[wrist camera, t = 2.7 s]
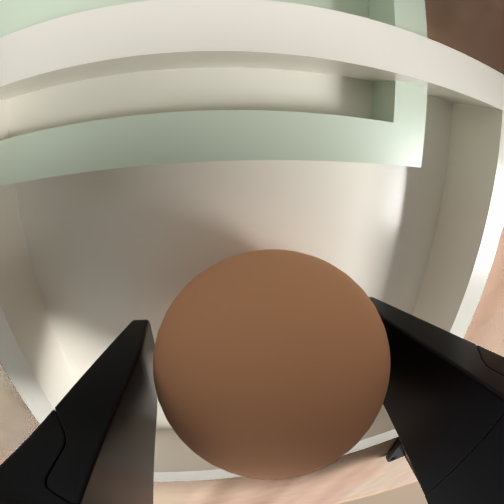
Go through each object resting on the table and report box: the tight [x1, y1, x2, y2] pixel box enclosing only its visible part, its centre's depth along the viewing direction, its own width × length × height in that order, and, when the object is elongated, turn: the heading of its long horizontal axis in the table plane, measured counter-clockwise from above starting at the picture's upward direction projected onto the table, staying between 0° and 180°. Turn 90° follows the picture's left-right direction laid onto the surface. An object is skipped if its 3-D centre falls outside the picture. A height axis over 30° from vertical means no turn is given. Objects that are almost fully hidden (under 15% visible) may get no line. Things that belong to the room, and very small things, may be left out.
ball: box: [153, 249, 390, 479], centre depth 6 cm, size 5×5×5 cm
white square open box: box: [0, 0, 504, 482], centre depth 8 cm, size 14×14×3 cm
